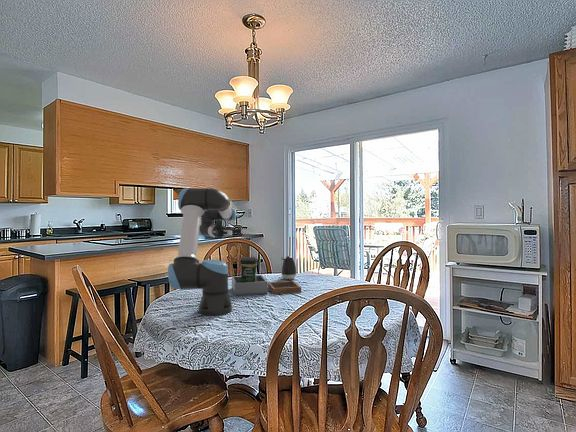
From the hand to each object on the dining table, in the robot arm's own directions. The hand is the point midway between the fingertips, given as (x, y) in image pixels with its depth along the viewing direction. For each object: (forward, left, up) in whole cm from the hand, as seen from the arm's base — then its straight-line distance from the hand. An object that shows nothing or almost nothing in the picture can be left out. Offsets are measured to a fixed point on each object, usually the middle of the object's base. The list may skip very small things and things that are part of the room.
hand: (240, 232), depth 197 cm
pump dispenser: (+20, -34, -34) cm, 52 cm away
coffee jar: (-6, -4, -33) cm, 33 cm away
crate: (-6, -4, -33) cm, 34 cm away
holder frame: (-7, -24, -33) cm, 42 cm away
